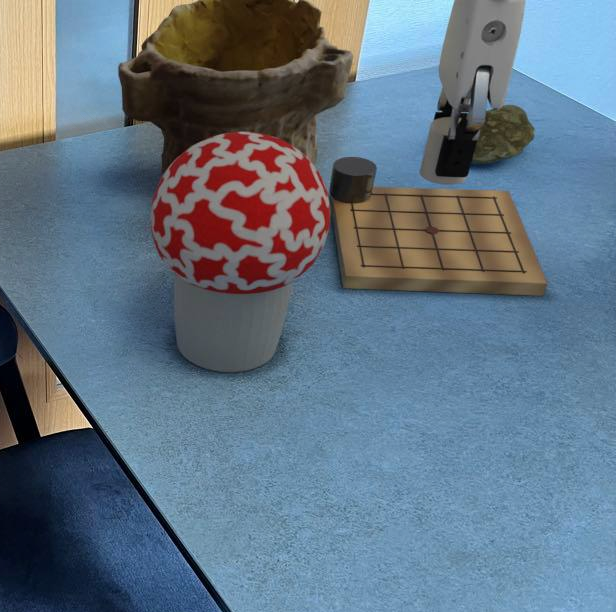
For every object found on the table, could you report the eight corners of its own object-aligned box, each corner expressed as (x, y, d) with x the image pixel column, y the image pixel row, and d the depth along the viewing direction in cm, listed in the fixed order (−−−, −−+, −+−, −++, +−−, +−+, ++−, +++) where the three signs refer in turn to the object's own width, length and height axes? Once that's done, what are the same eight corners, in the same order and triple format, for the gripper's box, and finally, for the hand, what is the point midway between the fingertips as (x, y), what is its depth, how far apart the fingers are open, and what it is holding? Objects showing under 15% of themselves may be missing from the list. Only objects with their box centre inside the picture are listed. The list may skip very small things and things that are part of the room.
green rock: (425, 138, 127) (479, 66, 124) (432, 161, 133) (484, 93, 131) (495, 179, 123) (552, 105, 121) (499, 200, 130) (553, 131, 127)
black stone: (369, 184, 119) (374, 157, 117) (373, 203, 116) (379, 176, 113) (327, 182, 119) (331, 156, 117) (330, 202, 116) (334, 175, 114)
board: (505, 202, 119) (509, 189, 117) (543, 296, 104) (548, 282, 103) (328, 197, 120) (331, 184, 119) (343, 288, 106) (345, 274, 105)
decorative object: (117, 324, 102) (120, 123, 88) (251, 286, 107) (275, 90, 93) (196, 410, 92) (214, 200, 78) (341, 365, 97) (382, 158, 82)
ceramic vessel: (216, 217, 100) (143, -48, 96) (127, 267, 123) (66, 54, 119) (407, 165, 106) (346, -86, 103) (289, 222, 129) (235, 19, 126)
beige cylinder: (463, 164, 108) (475, 117, 105) (470, 186, 105) (484, 137, 101) (416, 163, 109) (427, 116, 105) (422, 184, 105) (434, 136, 102)
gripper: (560, 1, 87) (499, 204, 100) (519, -58, 99) (469, 129, 112) (469, -1, 87) (420, 201, 100) (439, -60, 99) (399, 127, 112)
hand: (446, 161), depth 106 cm, fingers closed on beige cylinder, 4 cm apart
